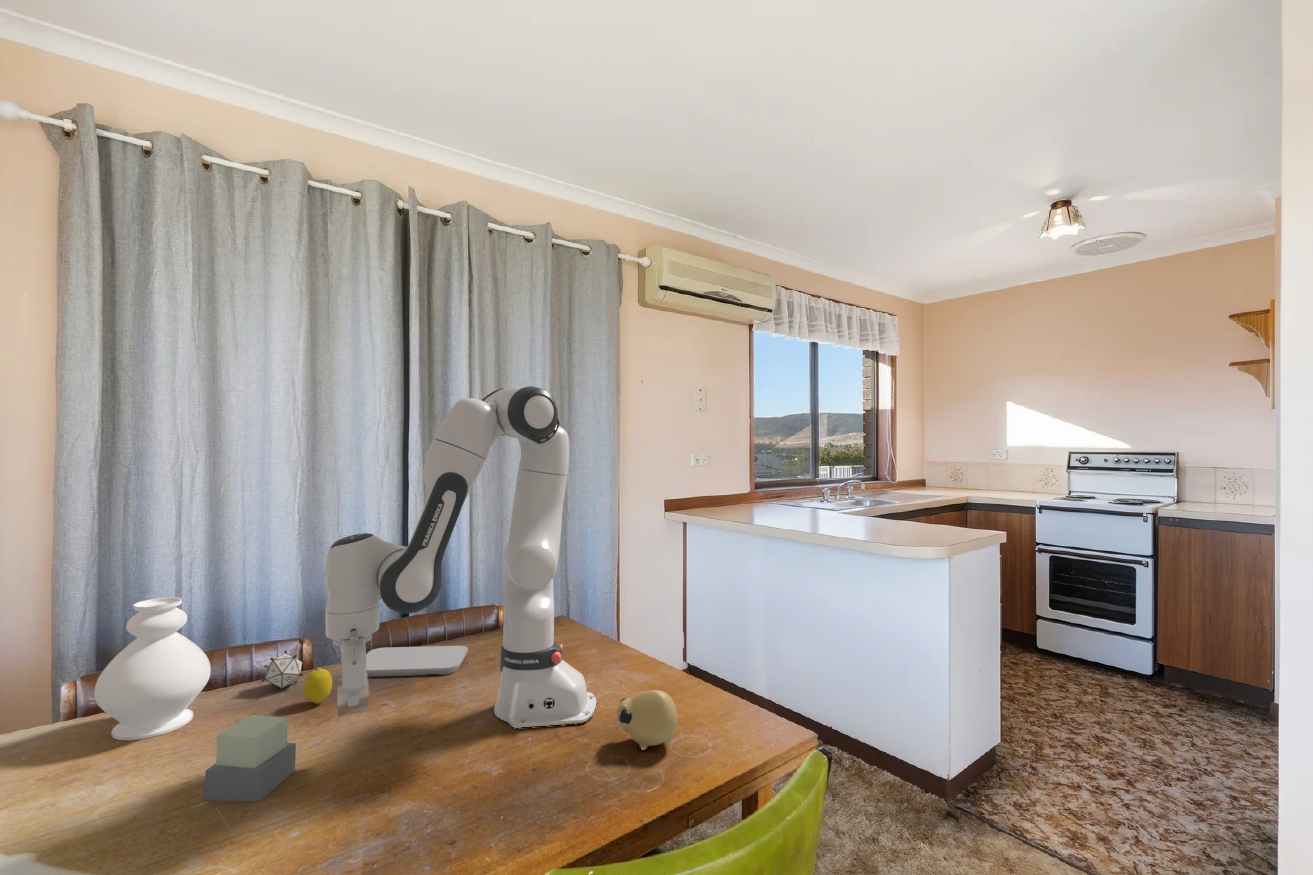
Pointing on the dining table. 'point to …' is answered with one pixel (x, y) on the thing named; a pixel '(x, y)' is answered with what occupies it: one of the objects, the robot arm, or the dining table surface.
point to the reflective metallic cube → (343, 700)
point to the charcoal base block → (249, 778)
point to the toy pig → (648, 717)
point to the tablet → (414, 660)
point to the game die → (283, 670)
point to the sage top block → (251, 741)
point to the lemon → (317, 685)
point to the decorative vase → (153, 674)
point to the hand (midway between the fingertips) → (353, 697)
